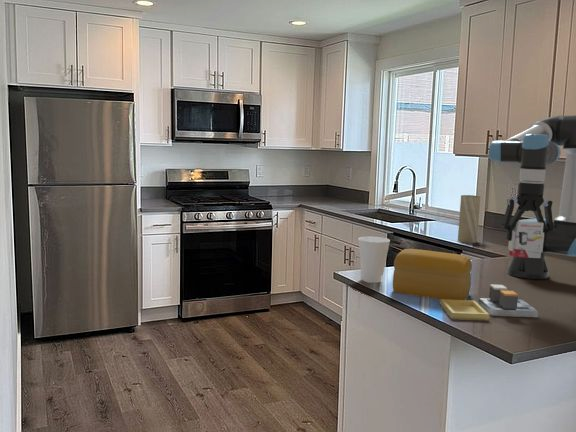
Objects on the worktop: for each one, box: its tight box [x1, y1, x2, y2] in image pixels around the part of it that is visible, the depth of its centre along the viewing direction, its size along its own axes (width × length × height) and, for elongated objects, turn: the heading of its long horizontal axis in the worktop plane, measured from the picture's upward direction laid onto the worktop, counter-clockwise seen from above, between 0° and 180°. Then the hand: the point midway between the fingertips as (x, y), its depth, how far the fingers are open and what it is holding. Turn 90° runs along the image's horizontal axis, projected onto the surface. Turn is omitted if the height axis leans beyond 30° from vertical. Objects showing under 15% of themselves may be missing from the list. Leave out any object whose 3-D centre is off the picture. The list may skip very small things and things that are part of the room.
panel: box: [478, 297, 539, 318], centre depth 171 cm, size 14×12×2 cm
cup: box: [357, 236, 391, 284], centre depth 202 cm, size 12×12×16 cm
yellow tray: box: [439, 299, 490, 322], centre depth 167 cm, size 11×14×2 cm
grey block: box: [499, 290, 519, 309], centre depth 167 cm, size 4×4×5 cm
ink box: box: [508, 219, 544, 258], centre depth 176 cm, size 9×5×12 cm, turn 90°
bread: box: [392, 248, 473, 301], centre depth 187 cm, size 24×13×15 cm, turn 61°
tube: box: [457, 194, 481, 244], centre depth 292 cm, size 10×10×25 cm
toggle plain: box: [488, 283, 508, 302], centre depth 174 cm, size 4×4×5 cm
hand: (525, 250), depth 176 cm, fingers closed on ink box, 9 cm apart
